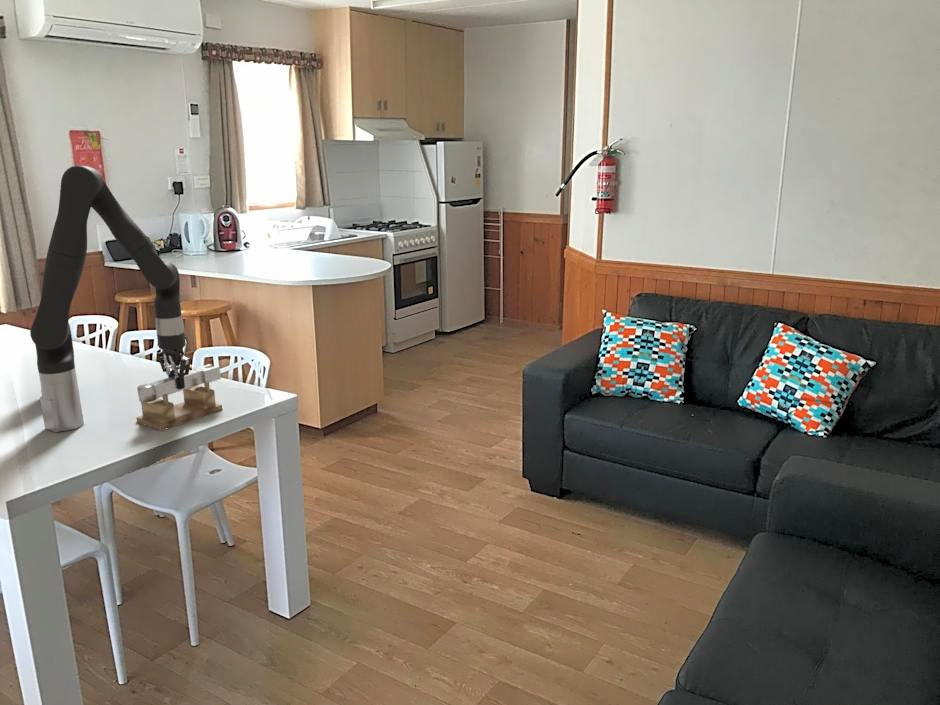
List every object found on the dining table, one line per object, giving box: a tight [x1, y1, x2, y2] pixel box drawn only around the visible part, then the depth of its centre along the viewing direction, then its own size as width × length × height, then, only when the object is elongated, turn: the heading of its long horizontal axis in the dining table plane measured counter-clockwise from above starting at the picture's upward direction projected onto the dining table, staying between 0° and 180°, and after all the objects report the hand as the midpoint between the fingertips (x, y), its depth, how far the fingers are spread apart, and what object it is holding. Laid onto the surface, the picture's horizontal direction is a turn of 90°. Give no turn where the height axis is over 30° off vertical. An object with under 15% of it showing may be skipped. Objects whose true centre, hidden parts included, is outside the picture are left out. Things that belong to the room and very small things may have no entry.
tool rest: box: [135, 382, 223, 431], centre depth 225 cm, size 21×12×10 cm, turn 145°
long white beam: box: [137, 363, 221, 403], centre depth 224 cm, size 26×5×4 cm, turn 145°
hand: (177, 387), depth 224 cm, fingers closed on long white beam, 3 cm apart
